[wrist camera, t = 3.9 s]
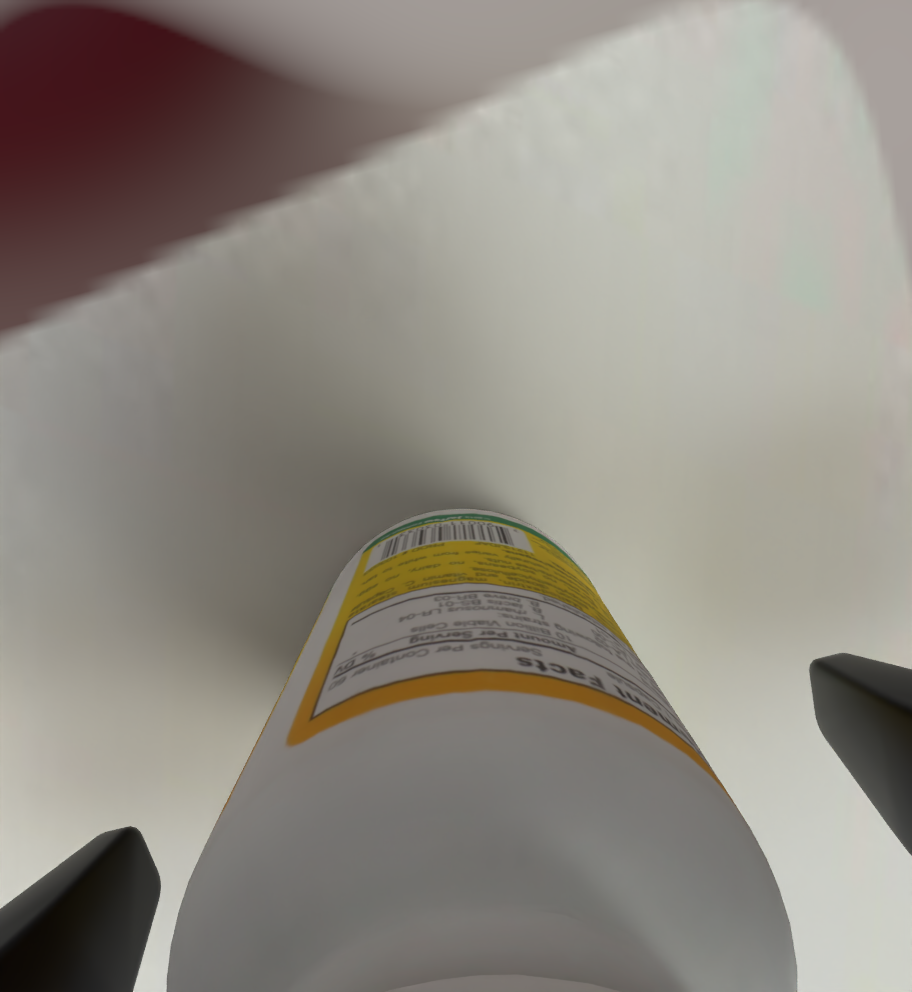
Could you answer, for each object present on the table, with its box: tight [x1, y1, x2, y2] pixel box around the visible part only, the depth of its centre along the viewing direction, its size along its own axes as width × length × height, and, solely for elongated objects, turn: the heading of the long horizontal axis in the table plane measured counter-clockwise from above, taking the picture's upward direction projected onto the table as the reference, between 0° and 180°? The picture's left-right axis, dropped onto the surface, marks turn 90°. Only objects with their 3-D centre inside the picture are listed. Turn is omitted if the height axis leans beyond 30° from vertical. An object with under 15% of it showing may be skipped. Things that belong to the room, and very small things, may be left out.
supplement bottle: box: [167, 509, 797, 992], centre depth 7 cm, size 5×5×10 cm
